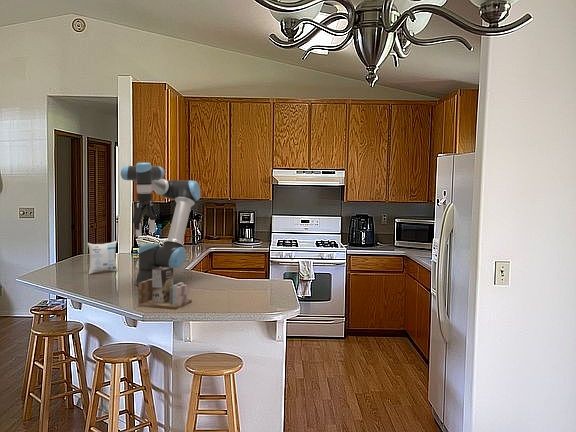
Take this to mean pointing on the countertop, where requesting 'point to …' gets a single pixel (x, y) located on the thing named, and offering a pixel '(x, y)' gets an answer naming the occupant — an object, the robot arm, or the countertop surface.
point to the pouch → (102, 257)
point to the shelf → (176, 301)
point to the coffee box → (161, 284)
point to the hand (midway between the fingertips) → (145, 234)
